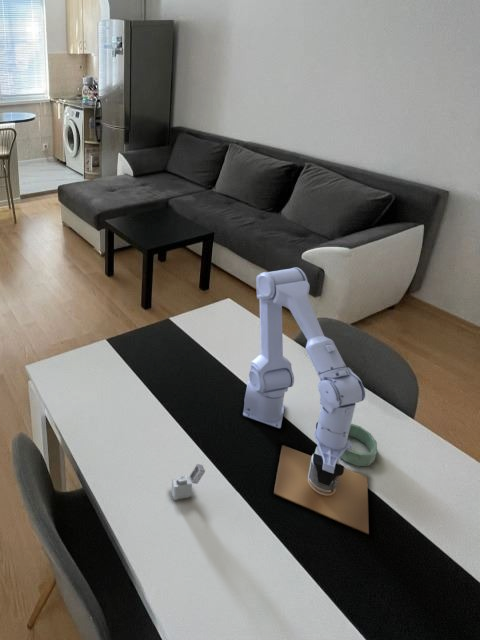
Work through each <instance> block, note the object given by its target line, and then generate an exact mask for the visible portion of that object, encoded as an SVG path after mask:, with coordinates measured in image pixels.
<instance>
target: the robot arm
mask: <svg viewBox="0 0 480 640" xmlns="http://www.w3.org/2000/svg"><path fill="white" fill-rule="evenodd" d="M255 277H256V278H255V279H256V280H255V282H256V283H255V285H256V287H255V288H256V299H257V300H259V327H260V328H259V333H260V335H259V336H260V338H259V339H260V353H259V354H258V355H257V356H256V357H255V358H254V359H252V360H251V361H250V370H249V373H248V378H249V379H248V381H247V385H246V390H245V394H244V399H243V400H244V401H243V402H244V405H243V411H242V416H243V417H245V418H249V419H251V420H254V421H257V422H260V423H261V424H262V423H263V424H266V425H267V426H271V427H274V428H276V429H281V428H282V422H283V419H284V412H285V406H284V401H285V400H284V399H285V393H286V392H288V391H289V388H292V387H293V386H294V384H295V376H294V375H295V374H294V372H293V369H292V363H291V362H290V360H289V359H288V358H287V357H285V356H284V347H283V346H284V344H283V339H284V338H283V307H284V308H287V309H289V311H290V314H291V315H292V316H293V318H294V320H295V322H296V323H297V325H298V327H299V329H300V330H301V333H302V334H303V335H304V337H305V339H306V340H307V342H306V344H305V351H306V353H307V355H308V357H309V359H310V361H311V363H312V366H313V368H314V370H315V371H316V374H317V375H318V378H319V380H320V381H318V382H317V388H318V392H319V402H320V411H319V416H318V419H317V420H318V421H317V422H316V424H315V431H314V440H315V442H316V445H317V446H318V448H319V450H320V453H321V456H320V455H317V454H315V452H313V453H312V455H313V464H314V466H315V467H316V470H317V478H318V482H320V483H322V484H325V485H327V486H329V485H330V484H331V483H332V481H333V480H334V479H335V478H336V477H337V476H341V475H342V474H343V472H344V468H345V466H344V465H342V464H341V463H340V464H337V461H338V460H339V459H340V460H341V456H342V454H343V453H344V451H345V450H349V451H353V448H354V447H353V446H354V444H353V442H352V441H351V440H349V439H348V438H349V435H348V434H349V430H350V426H351V424H352V421H353V417H354V413H355V408H356V404H357V403H360V402H363V401H364V400H365V398H366V390H365V389H366V388H365V386H364V384H363V381H362V379H360V376H358V374H356V373H355V372H353V370H352V368H350V367H347V365H346V363H345V361H344V359H343V358H342V355H341V354H340V351H339V350H338V348H337V346H336V344H335V342H334V340H333V339H331V338H329V337H327V336H325V334H324V332H323V329H322V327H321V325H320V323H319V320H318V317H317V315H316V313H315V310H314V308H313V306H312V303H311V300H310V297H309V293H310V283H309V282H308V281H309V280H308V277H307V275H306V273H305V272H304V271H303V269H301V268H300V267H297V266H296V267H291V268H286V269H279V270H273V271H263V272H260V273H258V275H257V276H255ZM340 460H339V461H340Z"/></svg>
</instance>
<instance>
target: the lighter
mask: <svg viewBox="0 0 480 640" xmlns="http://www.w3.org/2000/svg"><path fill="white" fill-rule="evenodd" d="M205 472H206V469H205V467H204V464H199V463H196V464H195V466H194V468H193V470H192V471H191V472H190V474H189V475H188V476H186V475H182V476H178V477H177V478H174V479H172V480H171V495H172V498H173V500H174V501H178V500H183V499H188V498H191V497H192V491H193V489H192V488H193V487H192V486H193V484H196V485H198V484H199V482H200V481H201V479H202V478H203V476H204V474H205Z"/></svg>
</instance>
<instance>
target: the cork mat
mask: <svg viewBox="0 0 480 640" xmlns="http://www.w3.org/2000/svg"><path fill="white" fill-rule="evenodd" d="M311 457H312V455H310V454H307V453H304V452H302V451H301V450H297V449H294V448H291V447H289V446H286V445H282V444H281V449H280V455H279V462H278V466H277V472H276V479H275V484H274V490H273V495H276V496H277V497H280V498H282V499H285V500H287V501H289V502H292V503H293V504H296V505H299V506H301V507H303V508H306V509H308V510H310V511H312V512H314V513H317V514H320V515H322V516H324V517H326V518H329V519H331V520H334V521H336V522H338V523H340V524H342V525H345V526H347V527H350V528H351V529H354V530H355V531H356V530H357V531H359V532H361V533H364V534H366V535H369V534H370V527H369V526H370V525H369V524H370V523H369V521H370V520H369V492H368V491H369V490H368V489H369V488H368V487H369V486H368V476H366V475H363V474H361V473H358V472H356V471H353V470H350V469H347V468H345V467H344V472H343V474H342V475H341V476H339V478H338V483H337V488H336V491H335V493H334V494H332V495H327V496H326V495H322V494H319V493H317V492H316V491H315V490H314V489H313V488H312V487H311V486H310V484H309V482H308V473H309V468H310V463H311Z"/></svg>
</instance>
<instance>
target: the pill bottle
mask: <svg viewBox="0 0 480 640" xmlns="http://www.w3.org/2000/svg"><path fill="white" fill-rule="evenodd" d="M314 453H315V454H317V455H320V456H321V453H320V450H319V448H318V445H317V446H316V447H315V450H314ZM311 456H312V457H311V463H310V468H309V473H308V482H309V484H310V486H311V487H312V488H313V489H314V490H315V491H316V492H317V493H319V494H322V495H326V496H327V495H332V494H334V493H335V491H336V488H337V483H338V478H339V476H337V477H336V478H335V479H334V480H333V481H332V483H331V484H330V485H329V486H327V485H325V484H322V483H320V482H318V478H317V470H316V467H315V466H314V464H313V454H312V455H311ZM340 460H341V458H340V459H339V460H338V461H337V464H340V465H341V463H340Z"/></svg>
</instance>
